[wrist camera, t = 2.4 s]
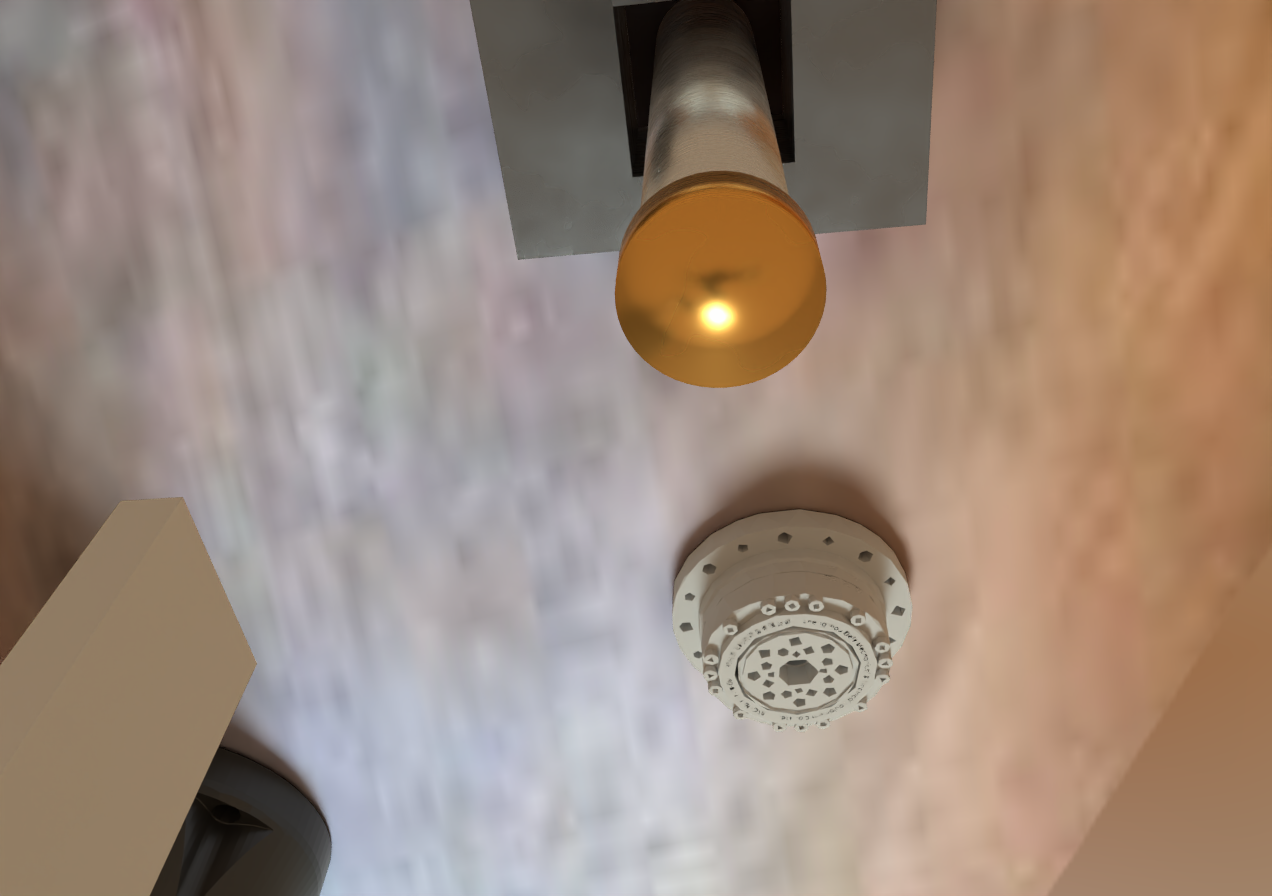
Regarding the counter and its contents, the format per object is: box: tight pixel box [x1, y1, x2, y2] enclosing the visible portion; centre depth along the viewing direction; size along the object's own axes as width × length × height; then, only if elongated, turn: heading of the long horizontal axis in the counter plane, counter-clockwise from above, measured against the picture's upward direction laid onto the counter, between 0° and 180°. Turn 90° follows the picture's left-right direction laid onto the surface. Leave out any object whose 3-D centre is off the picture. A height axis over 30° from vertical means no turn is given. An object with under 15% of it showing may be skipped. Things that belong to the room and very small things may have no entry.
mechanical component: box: [672, 509, 912, 732], centre depth 43 cm, size 10×4×10 cm
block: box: [470, 0, 937, 260], centre depth 30 cm, size 12×9×4 cm
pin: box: [615, 0, 826, 388], centre depth 25 cm, size 4×4×17 cm
